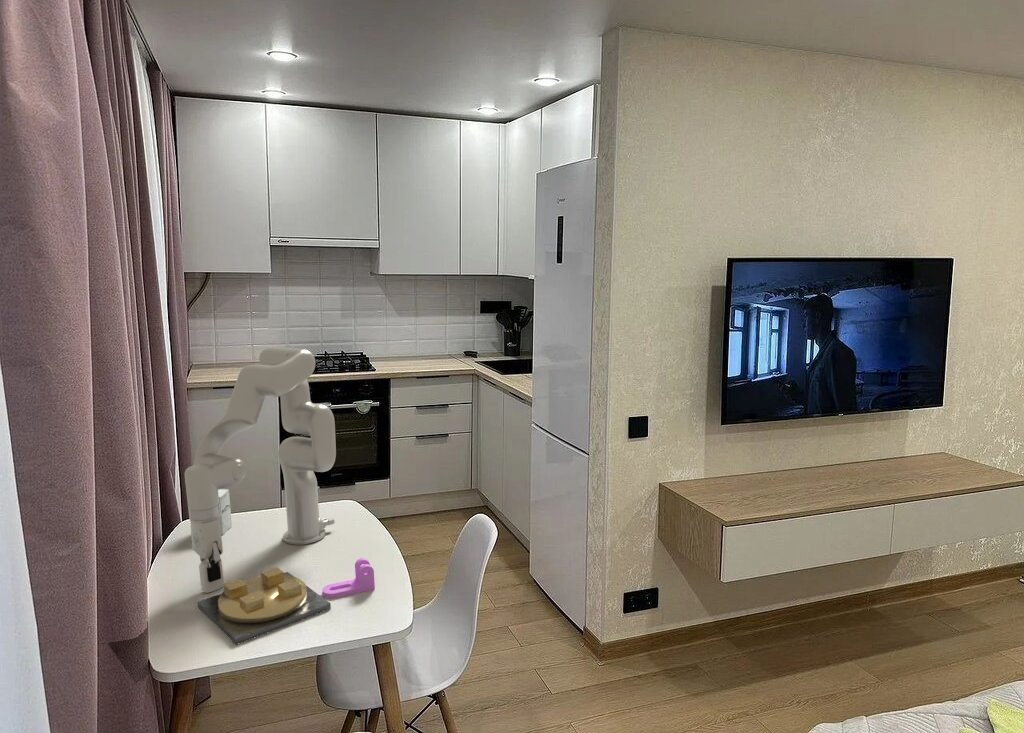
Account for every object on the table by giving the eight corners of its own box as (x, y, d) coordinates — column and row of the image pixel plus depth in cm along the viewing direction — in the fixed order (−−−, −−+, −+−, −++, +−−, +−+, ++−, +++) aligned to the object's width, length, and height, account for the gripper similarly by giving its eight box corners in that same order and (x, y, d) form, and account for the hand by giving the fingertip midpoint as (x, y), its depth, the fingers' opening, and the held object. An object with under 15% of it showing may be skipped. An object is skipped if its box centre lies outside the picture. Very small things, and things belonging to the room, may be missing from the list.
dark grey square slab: (287, 576, 205) (287, 571, 205) (330, 608, 188) (330, 602, 187) (198, 607, 190) (197, 601, 189) (236, 645, 172) (235, 638, 172)
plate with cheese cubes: (284, 574, 203) (283, 558, 202) (321, 601, 187) (320, 585, 187) (205, 600, 189) (204, 584, 188) (239, 632, 174) (237, 614, 173)
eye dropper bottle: (201, 587, 200) (196, 544, 198) (224, 582, 202) (219, 540, 200) (201, 594, 196) (197, 551, 194) (224, 589, 198) (220, 547, 196)
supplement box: (223, 535, 234) (219, 497, 232) (199, 535, 234) (196, 497, 232) (232, 526, 241) (229, 488, 239) (210, 526, 242) (206, 488, 239)
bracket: (369, 581, 202) (368, 556, 201) (374, 589, 197) (373, 565, 196) (320, 591, 197) (319, 566, 196) (324, 600, 192) (323, 575, 191)
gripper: (178, 507, 198) (186, 571, 202) (201, 525, 186) (209, 593, 190) (207, 499, 203) (214, 563, 207) (231, 516, 191) (238, 583, 195)
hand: (211, 576), depth 198 cm, fingers closed on eye dropper bottle, 3 cm apart
